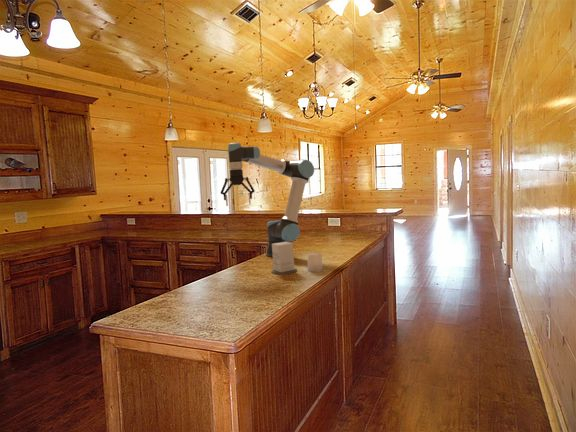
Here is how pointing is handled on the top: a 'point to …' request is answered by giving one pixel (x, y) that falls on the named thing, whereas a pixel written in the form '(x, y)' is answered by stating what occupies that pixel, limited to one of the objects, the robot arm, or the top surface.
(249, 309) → the top surface
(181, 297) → the top surface
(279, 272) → the base disk
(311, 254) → the beige rounded cylinder
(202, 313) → the top surface
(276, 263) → the supplement box
